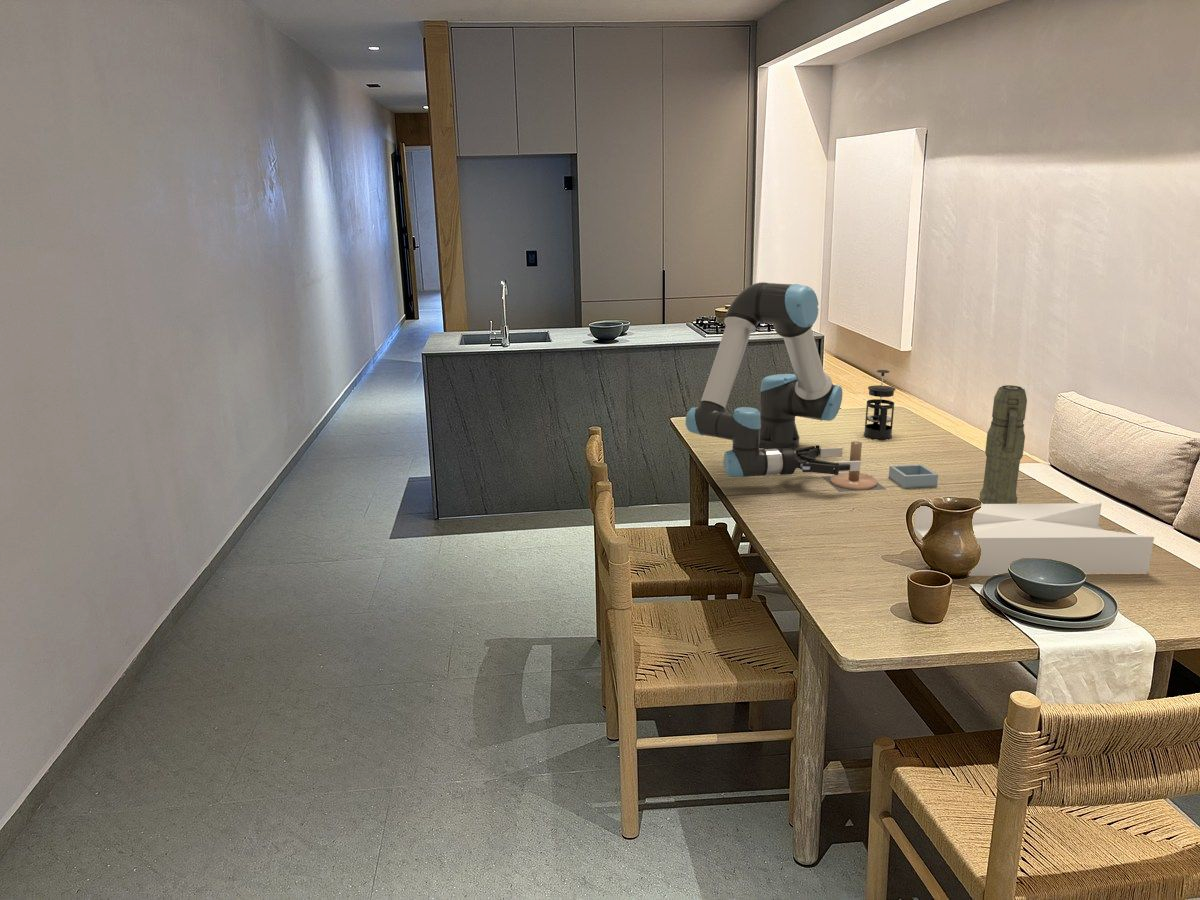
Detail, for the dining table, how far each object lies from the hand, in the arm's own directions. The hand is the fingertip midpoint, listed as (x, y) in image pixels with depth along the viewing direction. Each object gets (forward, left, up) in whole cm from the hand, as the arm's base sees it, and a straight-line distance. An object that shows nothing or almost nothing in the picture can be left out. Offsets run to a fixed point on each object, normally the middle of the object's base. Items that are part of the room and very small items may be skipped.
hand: (850, 458), depth 264 cm
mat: (-1, +2, -8) cm, 8 cm away
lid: (-1, +2, -8) cm, 8 cm away
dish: (+1, +19, -8) cm, 20 cm away
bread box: (+55, +21, -9) cm, 60 cm away
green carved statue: (+32, +27, -8) cm, 43 cm away
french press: (-48, +30, -8) cm, 57 cm away
